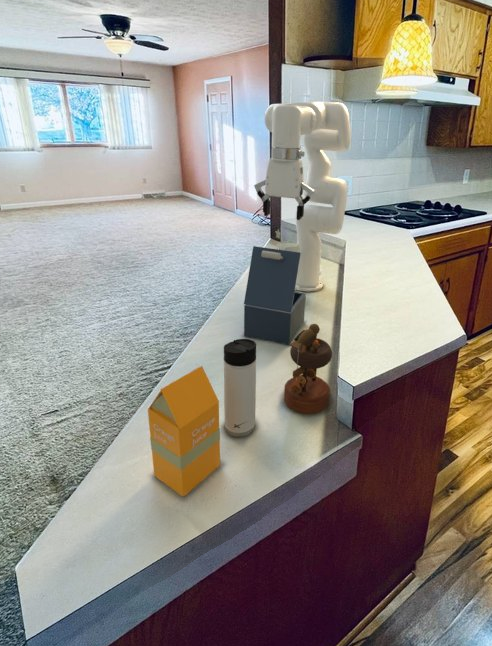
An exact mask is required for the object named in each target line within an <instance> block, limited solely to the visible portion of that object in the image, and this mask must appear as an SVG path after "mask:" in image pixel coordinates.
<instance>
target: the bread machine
mask: <svg viewBox="0 0 492 646" xmlns="http://www.w3.org/2000/svg"><path fill="white" fill-rule="evenodd" d="M306 296H307V293H306V292H302V291H301V292H300V291H296V292H295V293H294V299H293V305H292V311H291V312H286V311H280V310H274V309H269V308H263V307H257V306H251V305H245V304H244V306H243V337H244V338H251V339H255V340H261V341H266V342H272V343H276V344H282V345H287V346H289V344H290V343H292V342H293V341H294V339H295V338H296V336H297V334H298V332H299V331H300V328H301V327H302V325H303V324H304V323H305V312H306V311H305V310H306Z"/></svg>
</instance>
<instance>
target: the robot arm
mask: <svg viewBox="0 0 492 646" xmlns="http://www.w3.org/2000/svg"><path fill="white" fill-rule="evenodd" d="M350 122H351V121H350V114H349V111H348V108H347V106H346V105H345V104H344V103H342V102H333V101H331V102H330V101H307V102H306V101H304V102H303V101H302V102H291V103H272V104H270V105H268V107H266V110H265V112H264V124H265V127H266V129H267V130H268V131H269V132H270V133H271V157H270V158H269V159H268V162H267V167H266V174H265V175H266V176H265V179H264V180H262V181H259V182H257V183H255V184H254V185H253V187H254V190H255V191H256V195H257V196H258V197H259V198H260V199H261V202H262V213H263V216H264V217H268V216H270V215H271V201H270V198H271V197H277V198H285V199H295V201H296V202H297V204H298V205H297V206H296V211H295V225H296V243H298V245H299V247H300V251H298V252H300V253H301V256H300V262H299V268H298V274H297V281H296V290H297V291H299V292H300V291H301V292H317V291H320V290H321V289H323V285H324V284H323V282H322V281H321V280H320V276H321V275H322V271H321V261H322V249H323V243H322V240H321V238H320V235H319V234H318V233H320V234H328V235H337V234H339V233H341V231H342V228H343V224H344V218H345V213H346V206H347V201H348V183H347V181H346V180H344V179H342V178H337V177H331V173H332V163H331V161H330V159H329V157H328V156H327V155H326V153H325V151H329V152H346V151H347V150H349V148H350V146H351V142H352V131H351V123H350ZM301 136H303V145H304V149H305V151H303V150H301V148H300V147H301ZM305 152H306V153H305ZM305 154H306V156H307V157H306V158H307V161H308V163H307V164H308V165H307V166H308V167H307V174H306V179H305V183H304V166H303V165H304V164H303V160H300V158H304V157H305ZM262 187H265V188H264V191H265V193H264V191H263V190H262ZM303 195H304V197H303ZM308 202H310V203H315V204H323V205H331V206H332V207H330V206H322V205H315V204H307V203H308Z"/></svg>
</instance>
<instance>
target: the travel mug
mask: <svg viewBox="0 0 492 646" xmlns="http://www.w3.org/2000/svg"><path fill="white" fill-rule="evenodd" d="M256 387H257V342H256V341H254V340H253V339H249V338H238V339H237V338H236V339H233V341H230V342H228V343H226V344H224V345H223V405H224V406H223V407H224V409H223V410H224V411H223V412H224V416H223V417H224V430H225V431H226V433H227V434H228V435H230V436H232V437H237V438H240V437H241V438H243V437H246V436H249V435H251V434H252V433H253V432H254V430H255V427H256V401H257V400H256V399H257V395H256V394H257V388H256Z"/></svg>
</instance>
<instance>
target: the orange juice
mask: <svg viewBox="0 0 492 646" xmlns="http://www.w3.org/2000/svg"><path fill="white" fill-rule="evenodd" d="M147 416H148V426H149V435H150V437H149V440H150V449H151V456H152V467H153V475H154V477H155V478H157V479H158V480H160V481H161V483H164V484H165V485H166V486H168V487H169V488H170V489H172V490H173V491H174V492H176V493H177V494H178V495H179V496H181V497H182V498H183V497H185V496H186V495H188V494H189V493H190V492H191V491H192V490H193V489H194V488H195V487H197V486H198V485H199V484H200V483H201V482H202V481H204V480H205V479H206V478H207V477H209V475H211V474H212V473H213V472H214V471H216V469H217V468H219V467H220V466H221V443H220V442H221V428H220V400H219V399H218V396H217V394H216V392H215V390H214V388H213V385H212V383H211V382H210V379H209V377H208V375H207V372H206V371H205V369H204V367H203V365H201V366H199V367H197V368H195V369H193V370H192V371H190V372H188V373H187V374H185V375H183V376H181V377H179V378H177V379H176V380H174V381H172V382H170V383H169V384H167V385H165V386H164V387H162V388H160V391H159V393H158V394H157V395H156V397H155V398H154V400H153V401H152V403H151V404H150V406H149V407H148V408H147Z"/></svg>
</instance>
